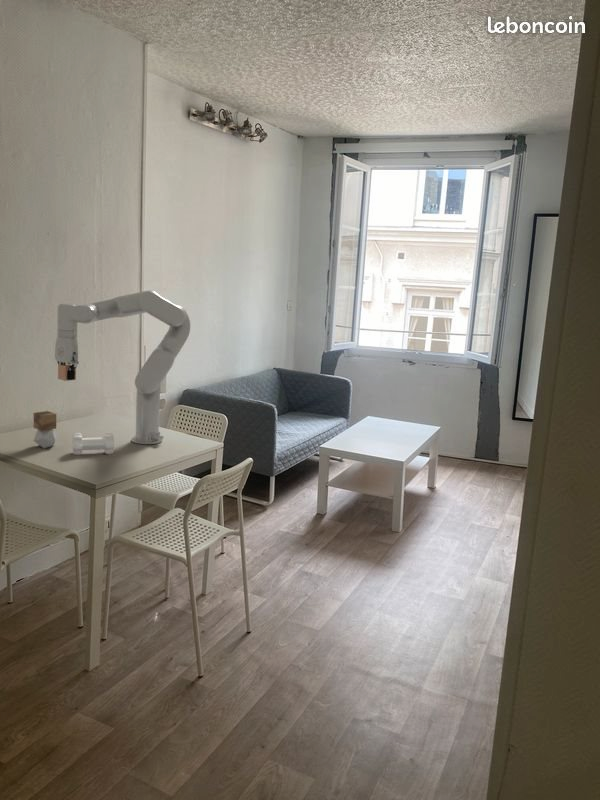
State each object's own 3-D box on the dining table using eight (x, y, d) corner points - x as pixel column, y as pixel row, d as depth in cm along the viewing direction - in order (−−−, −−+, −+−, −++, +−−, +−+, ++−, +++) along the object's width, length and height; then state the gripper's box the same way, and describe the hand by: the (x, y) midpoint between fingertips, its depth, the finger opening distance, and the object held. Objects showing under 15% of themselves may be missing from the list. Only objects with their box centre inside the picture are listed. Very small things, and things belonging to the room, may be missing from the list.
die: (60, 449, 247) (63, 427, 251) (43, 442, 240) (46, 420, 244) (44, 454, 250) (47, 431, 254) (27, 447, 243) (31, 424, 247)
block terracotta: (75, 379, 258) (76, 365, 257) (64, 380, 254) (65, 366, 253) (68, 378, 261) (68, 363, 259) (57, 378, 257) (58, 364, 255)
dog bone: (112, 450, 250) (112, 430, 249) (114, 456, 242) (114, 435, 241) (72, 451, 244) (72, 431, 243) (73, 457, 237) (73, 436, 235)
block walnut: (56, 428, 247) (56, 413, 246) (42, 430, 242) (42, 415, 241) (47, 425, 250) (47, 410, 249) (33, 427, 245) (33, 412, 244)
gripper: (47, 332, 256) (46, 376, 259) (71, 337, 246) (70, 382, 249) (63, 332, 262) (63, 374, 265) (87, 336, 252) (87, 381, 255)
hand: (66, 378), depth 257 cm, fingers closed on block terracotta, 5 cm apart
